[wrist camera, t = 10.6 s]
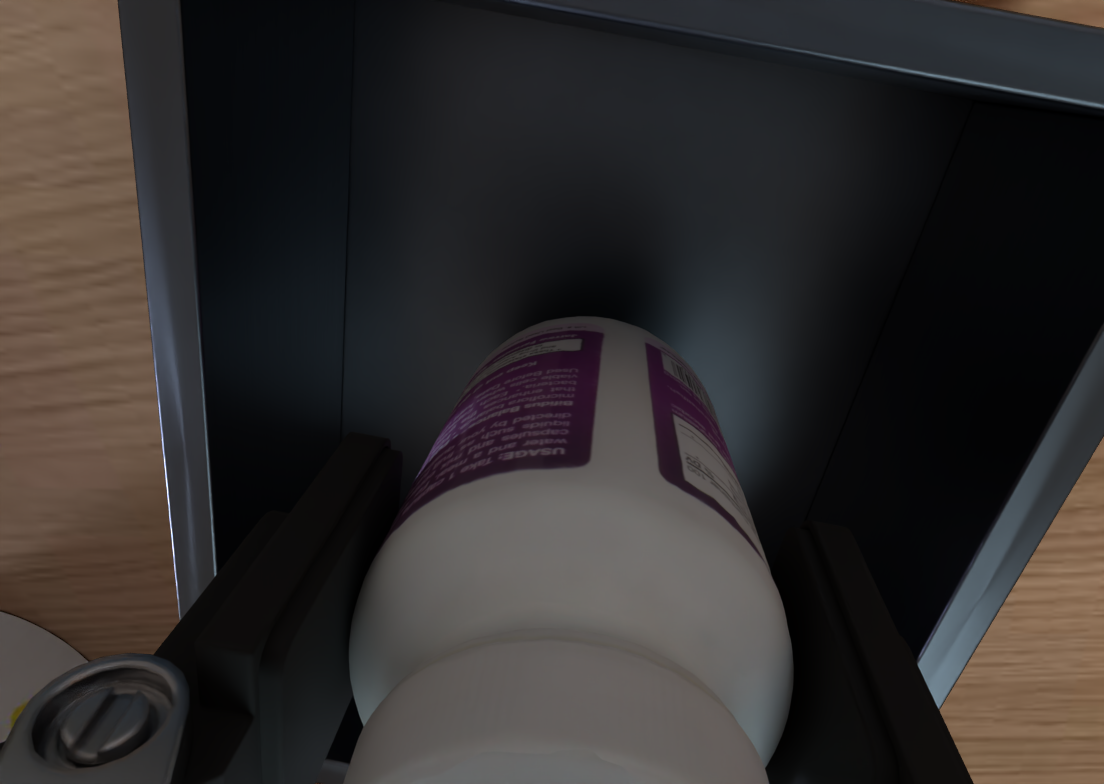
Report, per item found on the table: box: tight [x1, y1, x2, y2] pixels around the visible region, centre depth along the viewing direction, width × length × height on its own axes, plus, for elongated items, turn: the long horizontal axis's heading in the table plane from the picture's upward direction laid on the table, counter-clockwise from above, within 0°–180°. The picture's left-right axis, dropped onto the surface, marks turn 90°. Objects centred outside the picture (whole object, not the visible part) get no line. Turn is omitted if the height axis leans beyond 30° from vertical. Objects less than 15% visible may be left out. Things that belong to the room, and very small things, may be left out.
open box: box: [118, 0, 1104, 784], centre depth 14 cm, size 16×14×7 cm
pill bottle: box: [343, 316, 794, 784], centre depth 10 cm, size 5×5×10 cm
